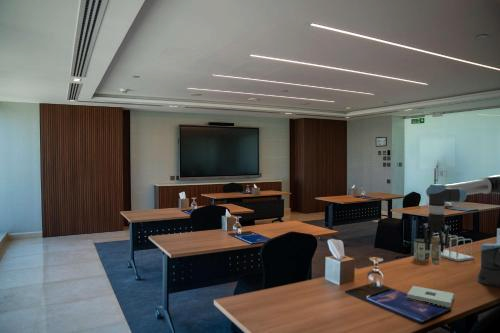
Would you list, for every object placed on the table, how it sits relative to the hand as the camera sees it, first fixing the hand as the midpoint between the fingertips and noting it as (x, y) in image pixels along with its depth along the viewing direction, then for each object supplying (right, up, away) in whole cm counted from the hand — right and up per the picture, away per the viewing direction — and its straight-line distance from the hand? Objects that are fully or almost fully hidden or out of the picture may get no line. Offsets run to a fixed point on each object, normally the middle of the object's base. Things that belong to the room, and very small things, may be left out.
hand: (435, 256), depth 190 cm
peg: (0, -4, 0) cm, 4 cm away
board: (-3, -22, -1) cm, 22 cm away
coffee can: (+27, -20, +72) cm, 80 cm away
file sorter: (+53, -20, +79) cm, 97 cm away
